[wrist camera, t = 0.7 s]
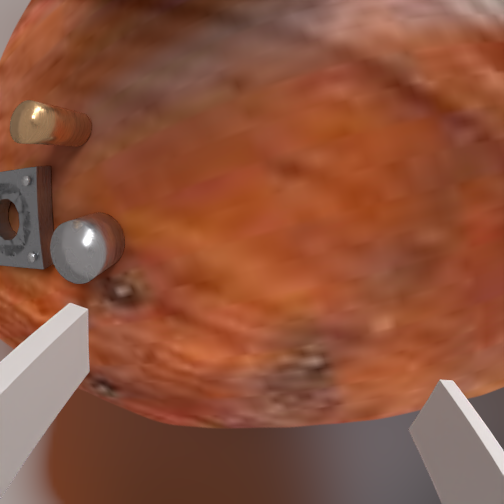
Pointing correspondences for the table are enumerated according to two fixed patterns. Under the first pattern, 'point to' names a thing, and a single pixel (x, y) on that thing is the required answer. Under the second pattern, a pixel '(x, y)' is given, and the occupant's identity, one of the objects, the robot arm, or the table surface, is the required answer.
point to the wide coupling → (86, 246)
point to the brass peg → (49, 125)
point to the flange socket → (26, 217)
